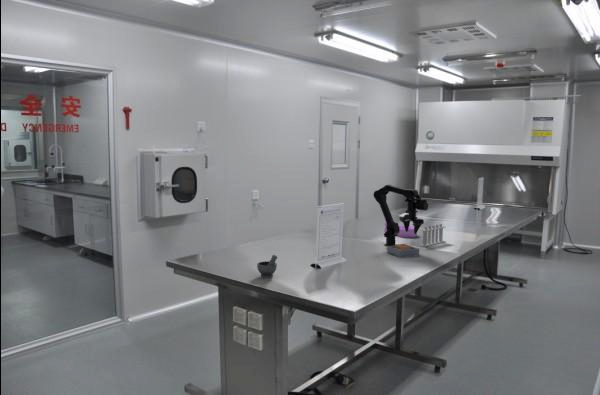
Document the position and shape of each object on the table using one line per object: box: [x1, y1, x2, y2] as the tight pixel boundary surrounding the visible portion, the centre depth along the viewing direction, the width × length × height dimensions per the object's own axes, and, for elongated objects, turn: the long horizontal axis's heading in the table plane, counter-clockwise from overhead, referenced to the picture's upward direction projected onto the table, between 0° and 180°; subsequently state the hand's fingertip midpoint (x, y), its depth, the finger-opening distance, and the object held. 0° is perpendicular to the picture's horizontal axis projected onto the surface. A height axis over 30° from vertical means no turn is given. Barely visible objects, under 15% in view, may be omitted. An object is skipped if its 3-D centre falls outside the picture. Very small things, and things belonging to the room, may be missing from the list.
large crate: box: [386, 244, 420, 258], centre depth 289 cm, size 14×14×4 cm
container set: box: [383, 219, 418, 238], centre depth 351 cm, size 25×15×13 cm, turn 60°
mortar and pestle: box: [256, 254, 278, 279], centre depth 235 cm, size 11×9×12 cm
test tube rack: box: [419, 223, 447, 248], centre depth 319 cm, size 25×4×13 cm, turn 131°
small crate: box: [395, 243, 411, 250], centre depth 288 cm, size 6×6×5 cm
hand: (410, 232), depth 300 cm, fingers open, 9 cm apart
